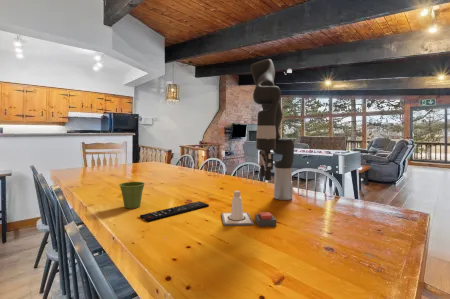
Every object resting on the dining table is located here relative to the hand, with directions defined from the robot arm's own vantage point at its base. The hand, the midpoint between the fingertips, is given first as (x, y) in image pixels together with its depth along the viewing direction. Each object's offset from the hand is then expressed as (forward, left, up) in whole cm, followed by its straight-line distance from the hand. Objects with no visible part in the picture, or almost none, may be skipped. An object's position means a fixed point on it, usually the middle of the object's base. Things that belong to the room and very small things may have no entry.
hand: (265, 178), depth 100 cm
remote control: (+37, -17, -19) cm, 45 cm away
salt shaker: (+11, -5, -18) cm, 21 cm away
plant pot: (+59, -26, -19) cm, 67 cm away
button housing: (0, 0, -18) cm, 18 cm away
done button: (0, 0, -16) cm, 16 cm away
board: (+11, -5, -18) cm, 22 cm away
